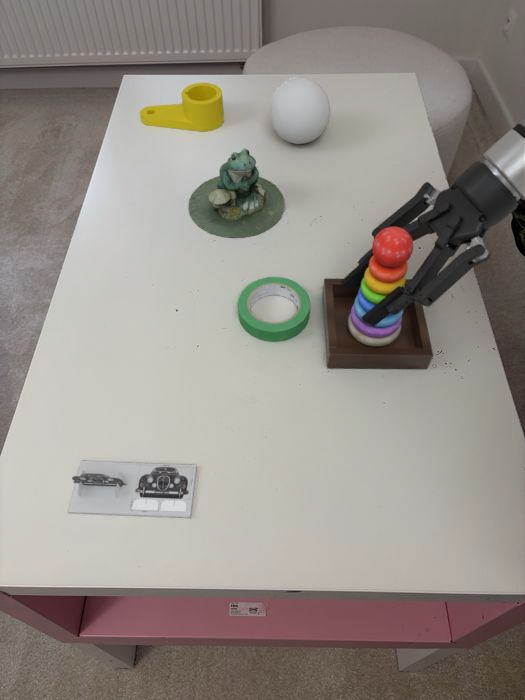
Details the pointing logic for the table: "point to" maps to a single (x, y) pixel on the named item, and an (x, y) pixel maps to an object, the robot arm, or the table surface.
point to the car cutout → (133, 489)
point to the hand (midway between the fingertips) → (357, 303)
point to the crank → (189, 110)
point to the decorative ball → (299, 110)
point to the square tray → (352, 354)
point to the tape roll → (274, 329)
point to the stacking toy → (381, 286)
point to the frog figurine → (237, 200)
